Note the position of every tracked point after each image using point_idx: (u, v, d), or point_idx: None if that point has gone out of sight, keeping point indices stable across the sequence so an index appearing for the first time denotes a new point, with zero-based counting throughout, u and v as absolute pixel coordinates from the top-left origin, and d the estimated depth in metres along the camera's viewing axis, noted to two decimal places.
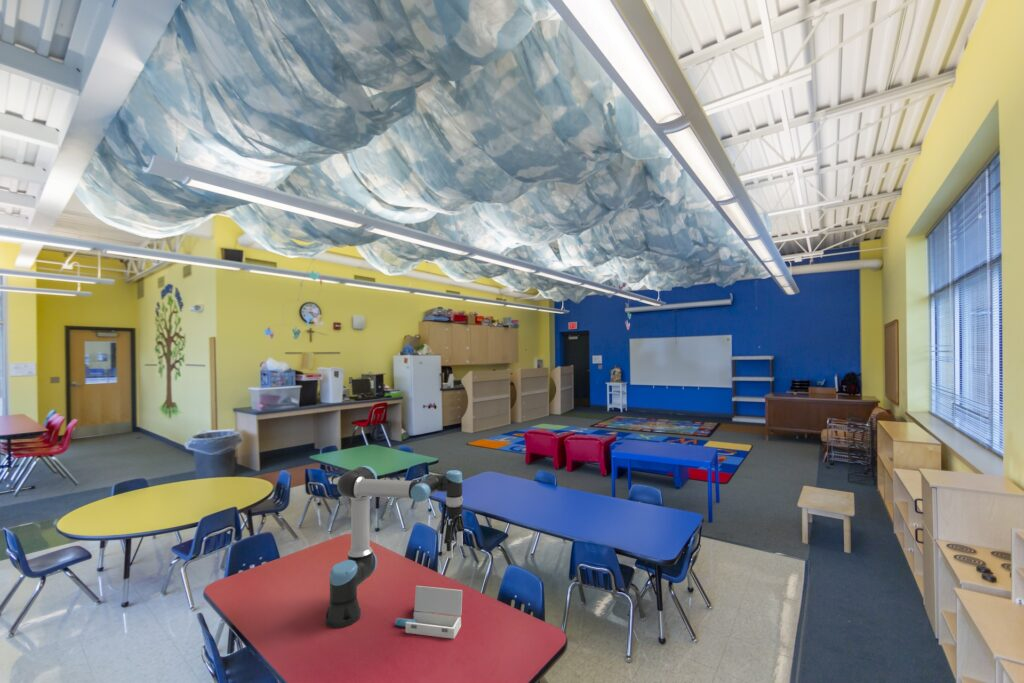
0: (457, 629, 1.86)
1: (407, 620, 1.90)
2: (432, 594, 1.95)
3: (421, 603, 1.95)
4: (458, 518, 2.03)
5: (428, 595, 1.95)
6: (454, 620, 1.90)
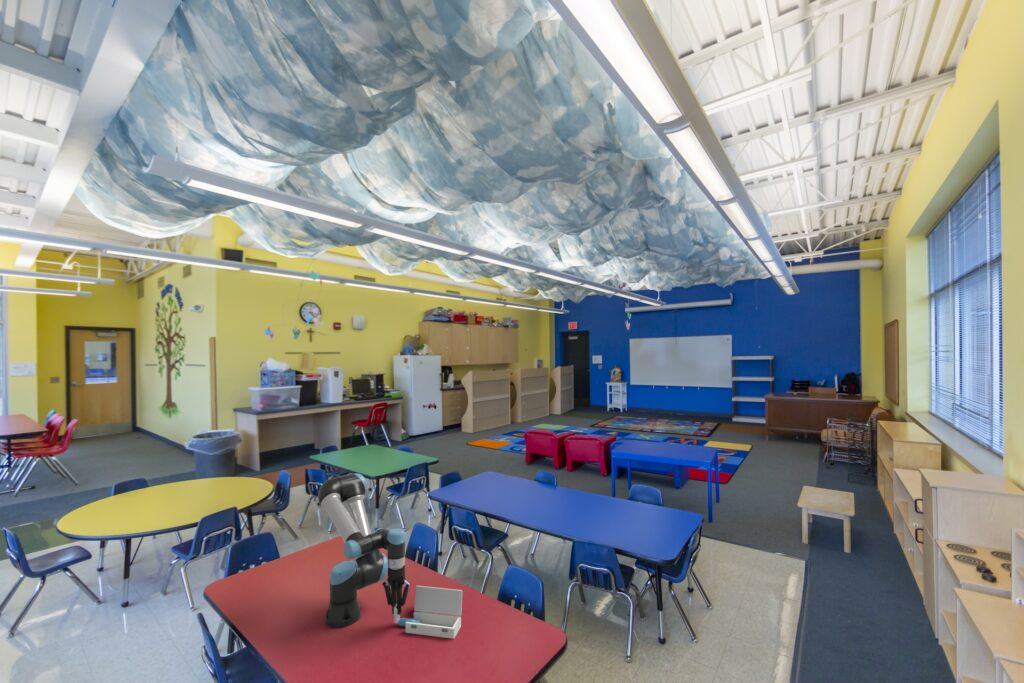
0: (457, 629, 1.86)
1: (410, 620, 1.90)
2: (432, 594, 1.95)
3: (421, 603, 1.95)
4: (396, 582, 1.91)
5: (428, 595, 1.95)
6: (454, 620, 1.90)
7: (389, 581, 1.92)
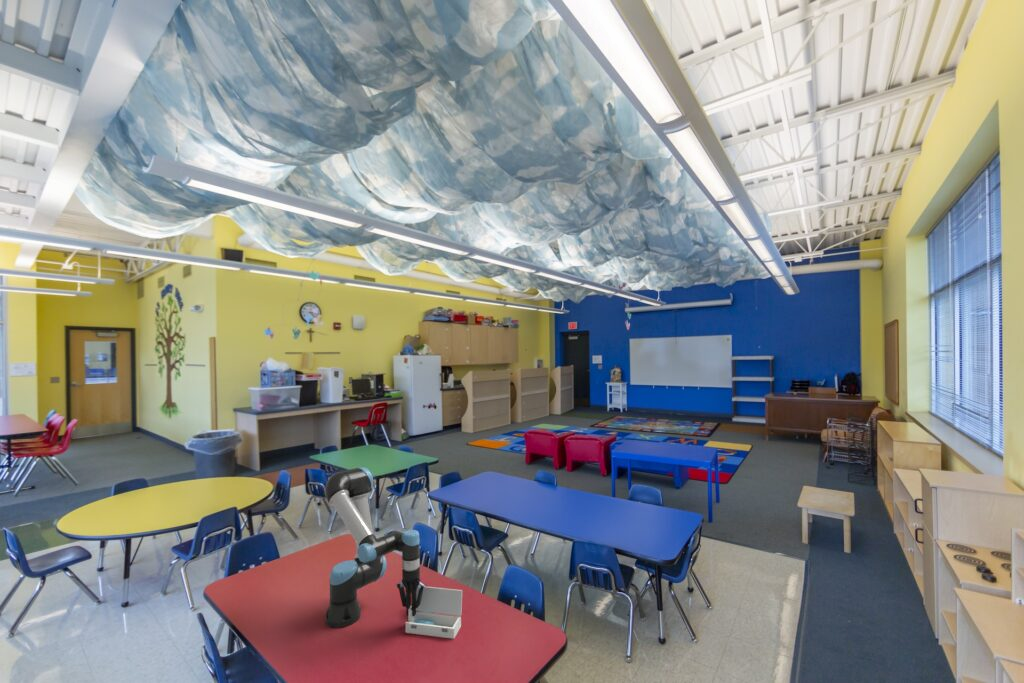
0: (457, 629, 1.86)
1: (425, 622, 1.89)
2: (432, 594, 1.95)
3: (421, 603, 1.95)
4: (410, 584, 1.90)
5: (428, 595, 1.95)
6: (454, 620, 1.90)
7: (404, 583, 1.91)
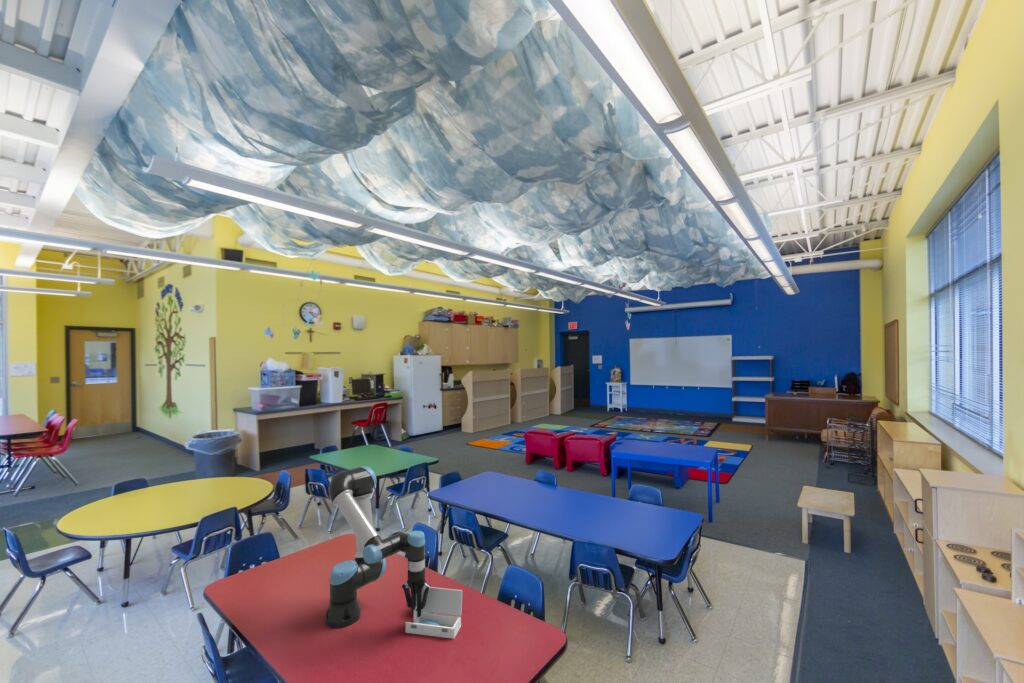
0: (457, 629, 1.86)
1: (430, 623, 1.88)
2: (432, 594, 1.95)
3: None
4: (416, 585, 1.89)
5: (428, 595, 1.95)
6: (454, 620, 1.90)
7: (409, 583, 1.90)
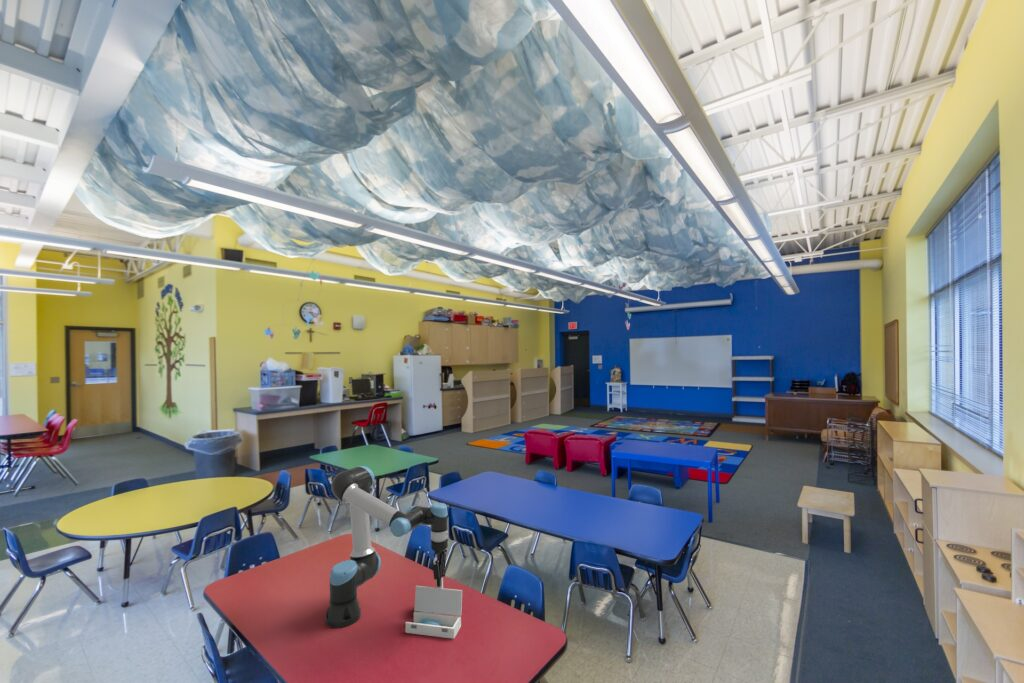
0: (457, 629, 1.86)
1: (431, 621, 1.89)
2: (432, 594, 1.95)
3: (421, 603, 1.95)
4: (443, 553, 1.97)
5: (428, 595, 1.95)
6: (454, 620, 1.90)
7: (439, 556, 1.94)
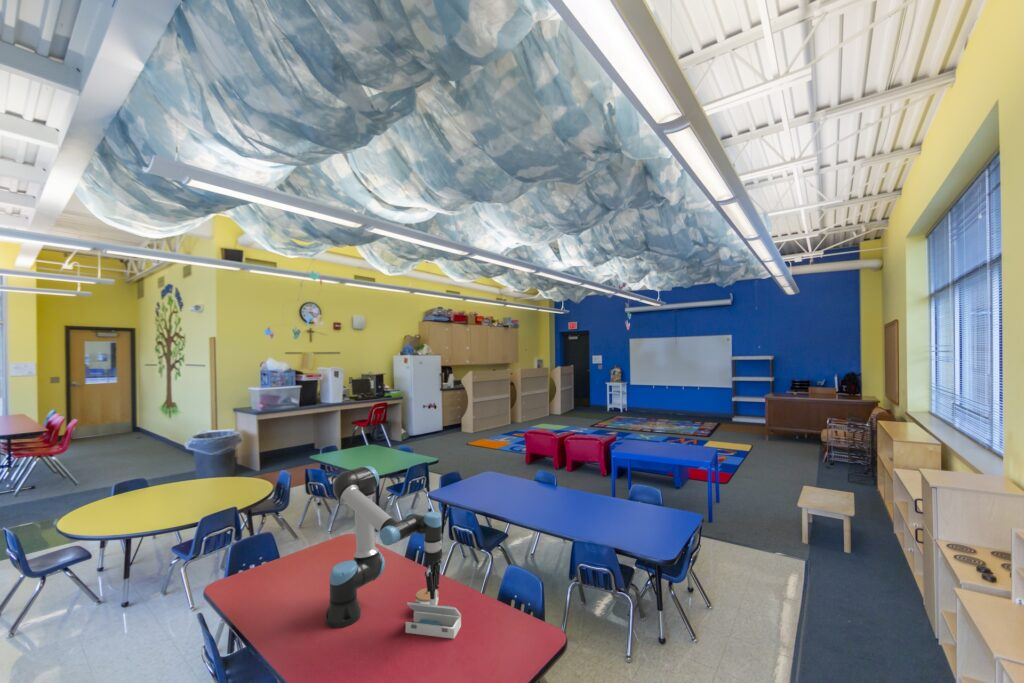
0: (457, 629, 1.86)
1: (431, 621, 1.89)
2: (426, 608, 1.88)
3: (418, 609, 1.92)
4: (437, 564, 1.90)
5: (423, 608, 1.89)
6: (454, 620, 1.90)
7: (432, 567, 1.87)
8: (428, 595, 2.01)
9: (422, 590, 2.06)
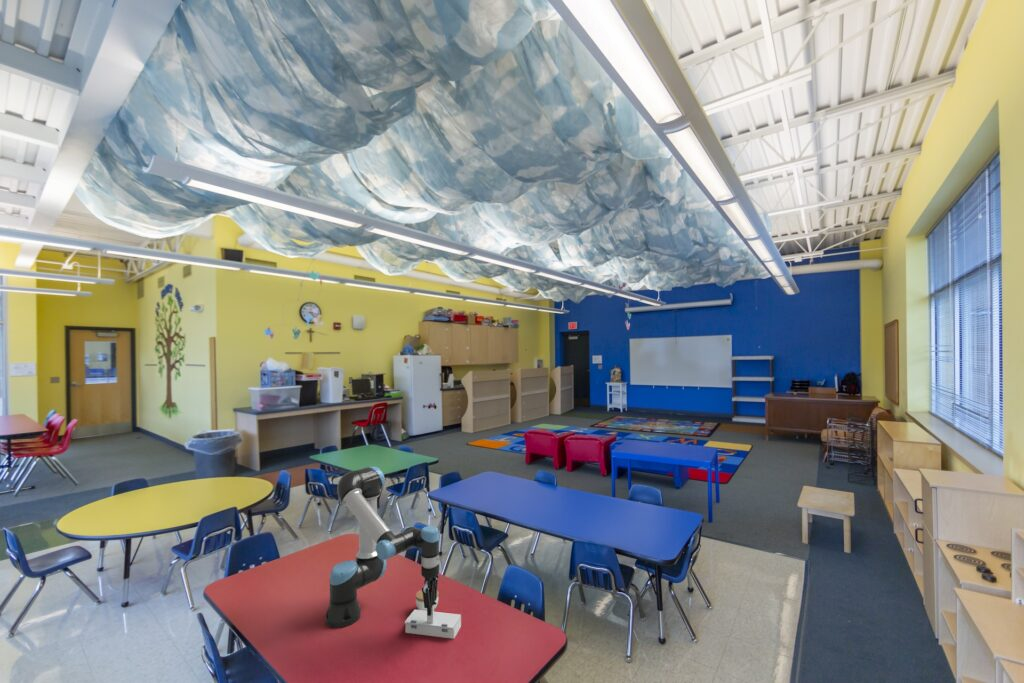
0: (457, 629, 1.86)
1: None
2: None
3: None
4: (434, 579, 1.86)
5: None
6: None
7: (430, 583, 1.83)
8: None
9: None
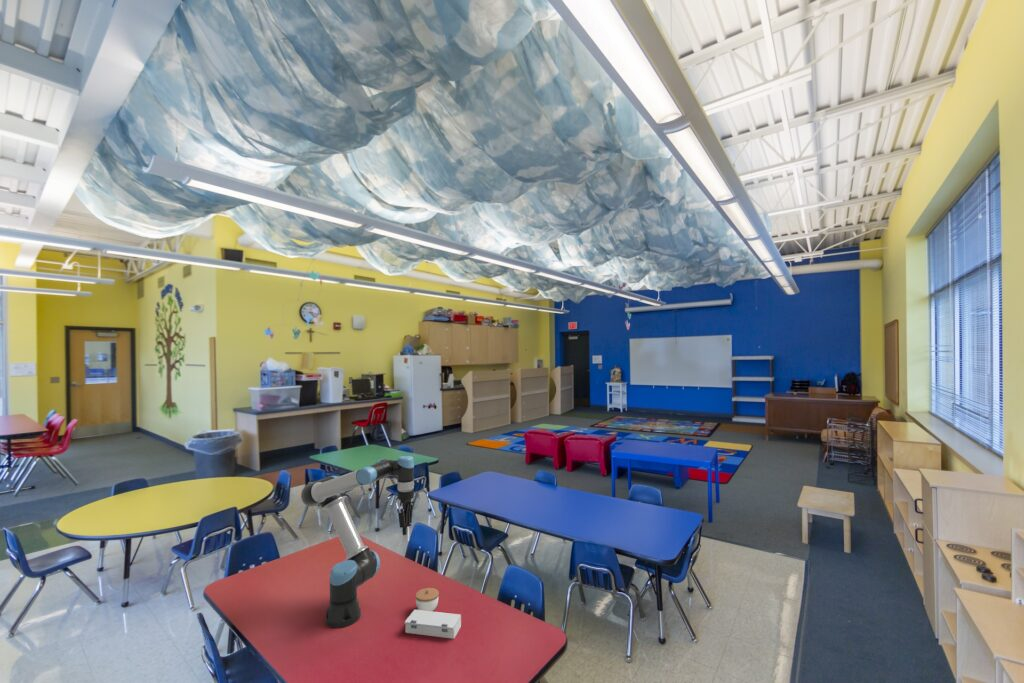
0: (457, 629, 1.86)
1: None
2: None
3: None
4: (409, 503, 2.05)
5: None
6: None
7: (405, 505, 2.02)
8: (428, 595, 2.01)
9: (422, 590, 2.06)
